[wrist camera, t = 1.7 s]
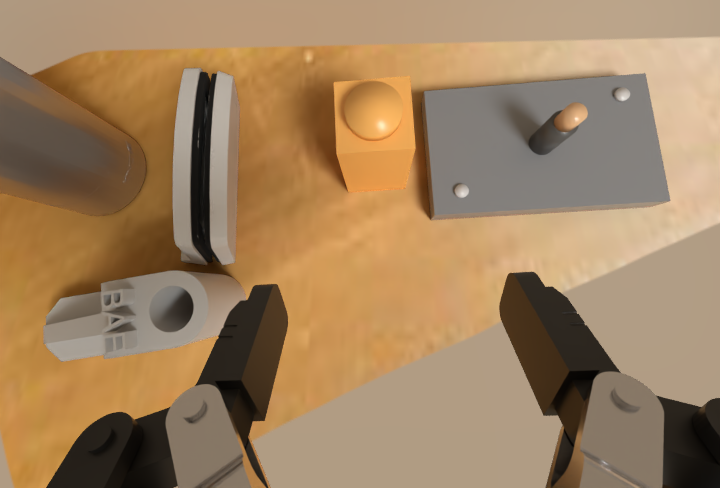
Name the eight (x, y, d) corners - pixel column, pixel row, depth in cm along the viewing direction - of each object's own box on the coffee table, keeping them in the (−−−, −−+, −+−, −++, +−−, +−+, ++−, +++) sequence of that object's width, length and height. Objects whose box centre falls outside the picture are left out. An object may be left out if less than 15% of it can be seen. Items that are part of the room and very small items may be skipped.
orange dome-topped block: (348, 192, 30) (334, 149, 21) (346, 139, 31) (331, 74, 22) (404, 188, 30) (417, 143, 21) (400, 135, 31) (411, 67, 21)
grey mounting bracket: (67, 299, 31) (-40, 304, 23) (243, 269, 30) (196, 263, 22) (69, 358, 30) (-42, 384, 22) (250, 329, 29) (203, 344, 21)
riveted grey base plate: (430, 220, 29) (447, 199, 23) (421, 103, 31) (433, 51, 24) (650, 207, 28) (737, 181, 22) (627, 87, 30) (702, 28, 23)
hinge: (193, 108, 33) (163, 33, 23) (241, 114, 34) (231, 45, 25) (184, 266, 30) (147, 255, 21) (236, 266, 32) (223, 256, 22)
